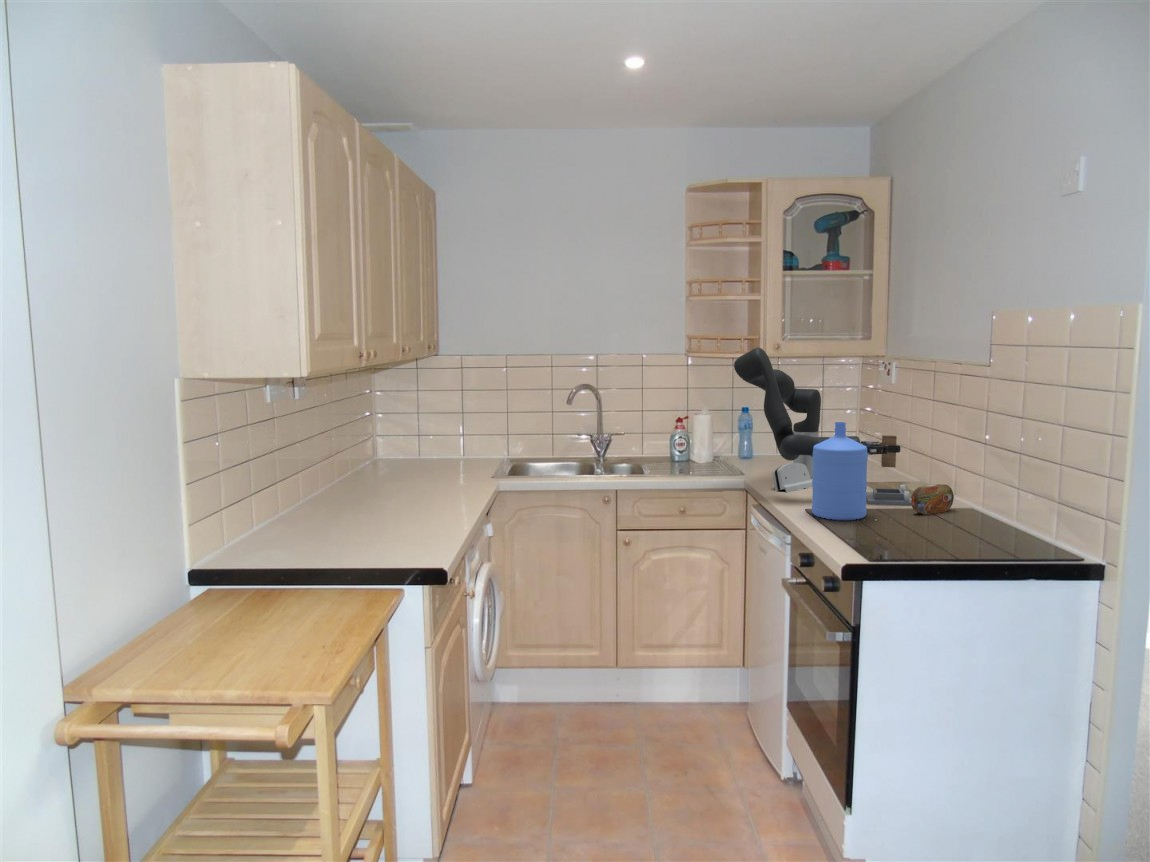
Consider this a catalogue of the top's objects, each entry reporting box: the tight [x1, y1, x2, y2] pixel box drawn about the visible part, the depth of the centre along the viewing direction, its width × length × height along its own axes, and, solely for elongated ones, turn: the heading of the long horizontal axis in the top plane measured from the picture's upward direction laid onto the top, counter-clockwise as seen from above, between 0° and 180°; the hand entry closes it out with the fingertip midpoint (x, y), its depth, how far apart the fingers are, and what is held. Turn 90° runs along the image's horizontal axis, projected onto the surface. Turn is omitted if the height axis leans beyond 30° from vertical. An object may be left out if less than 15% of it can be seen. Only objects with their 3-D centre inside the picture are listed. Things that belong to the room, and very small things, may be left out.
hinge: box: [772, 462, 813, 493], centre depth 284 cm, size 17×5×10 cm, turn 128°
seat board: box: [866, 484, 912, 507], centre depth 261 cm, size 15×13×4 cm
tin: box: [910, 483, 955, 516], centre depth 243 cm, size 15×3×8 cm, turn 114°
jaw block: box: [880, 434, 898, 468], centre depth 259 cm, size 4×4×10 cm
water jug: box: [811, 421, 869, 521], centre depth 240 cm, size 16×16×28 cm
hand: (897, 447), depth 259 cm, fingers closed on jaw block, 4 cm apart
